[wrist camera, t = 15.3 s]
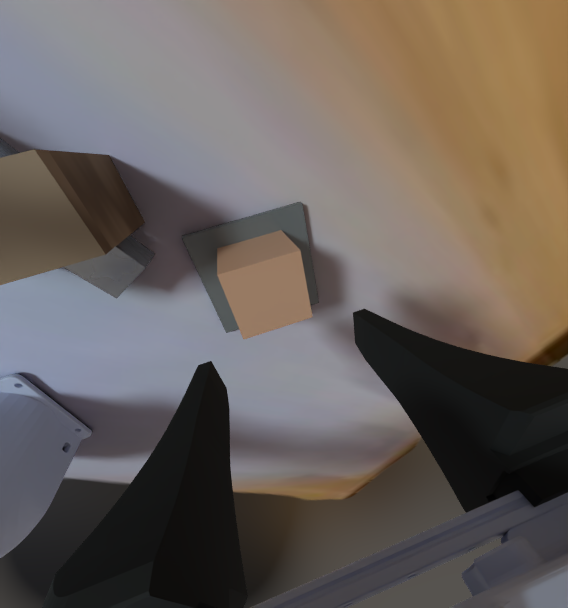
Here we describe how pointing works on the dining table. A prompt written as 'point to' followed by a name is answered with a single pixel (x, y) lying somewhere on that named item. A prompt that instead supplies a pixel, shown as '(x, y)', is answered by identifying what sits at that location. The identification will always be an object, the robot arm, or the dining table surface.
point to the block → (264, 283)
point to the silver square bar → (107, 258)
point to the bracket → (60, 211)
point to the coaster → (210, 239)
